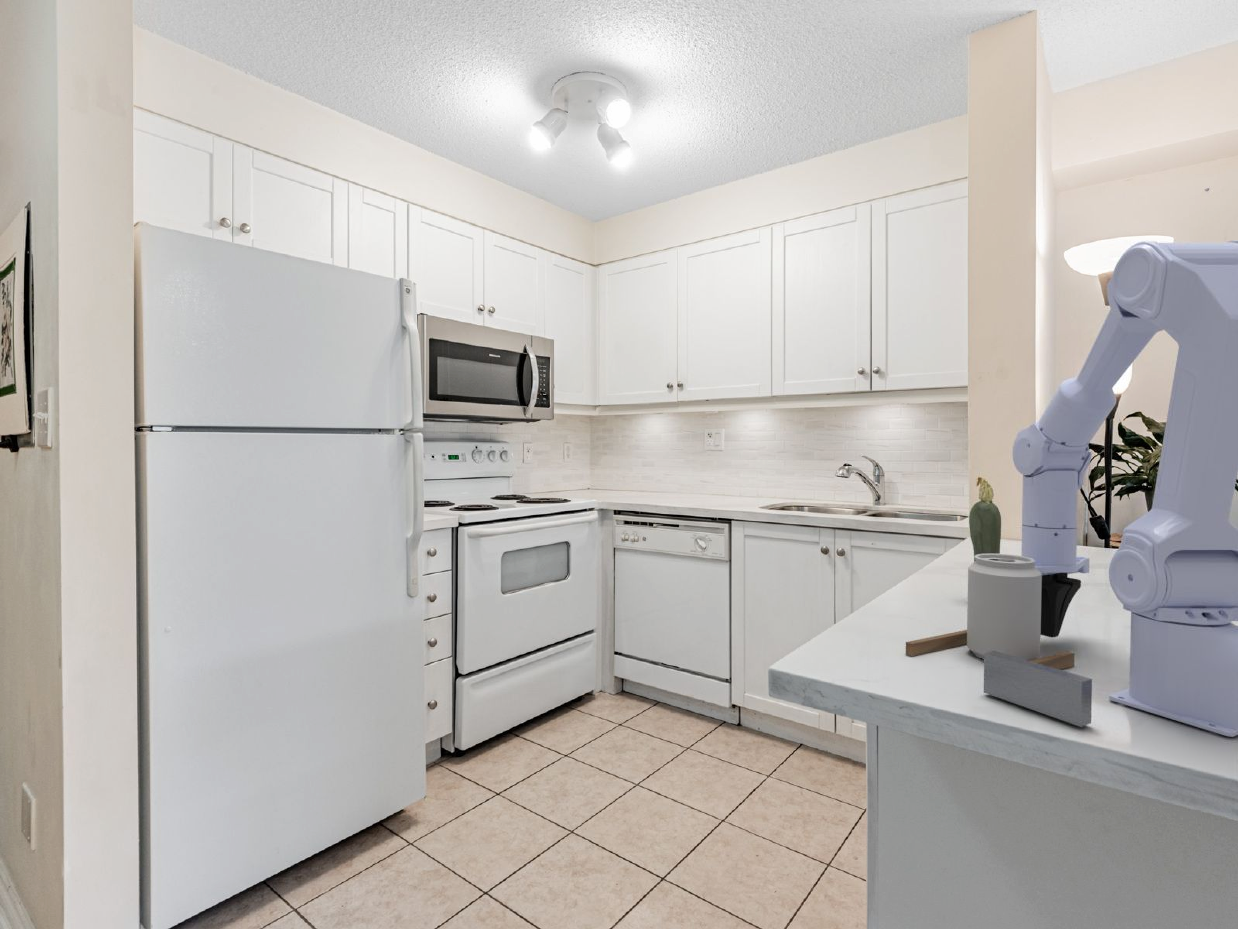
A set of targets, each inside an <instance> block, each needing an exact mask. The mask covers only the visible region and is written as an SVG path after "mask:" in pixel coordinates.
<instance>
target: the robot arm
mask: <svg viewBox="0 0 1238 929" xmlns="http://www.w3.org/2000/svg"><path fill="white" fill-rule="evenodd" d="M1106 295H1107V296H1106V298H1107V301H1108V305H1109V308H1110V310H1109V311H1108V314H1107V315H1106V318H1105V320H1104V321H1103V323H1102V326H1101V328H1100V331H1099V332H1098V334H1097V336H1096V338H1095V341H1094V343H1093V344H1092V346H1091V349H1090V351H1089V353H1088V355H1087V356H1086V359H1085V362H1084V364H1083V365H1082V367H1081V369H1080V371H1079V373H1078V376H1075V377H1072V378H1071V377H1070V378H1067V379H1065V380H1063V381H1061V383H1060V385H1059V386H1058V387H1057V389H1056V392H1055V393H1054V395H1053V396H1052V397H1051V400H1050V401H1049V402H1048V405H1047V407H1046V408H1045V410H1044V412H1043V414H1042V415H1041V417H1040V418H1039V419H1038V422H1033V423H1030V426H1029V427H1025V428H1022V429H1021V430H1020V431H1018V432H1017V434H1016V438H1015V439H1014V442H1013V446H1012V461H1013V465H1014V467H1015V469H1016V470H1017V471H1018V473H1019V474H1021V475H1022V498H1021V499H1022V502H1021V504H1022V505H1021V506H1022V508H1021V509H1022V510H1021V555H1020V556H1024V557H1029V558H1032V559H1034V560H1035V561H1036V562H1035V563H1034V566H1035V567H1036V569H1037V570H1038V571H1039V572H1040V573H1041V574H1042V588H1041V636H1043V637H1048V638H1057V637H1059V635H1060V632H1061V630H1062V626H1063V623H1064V619H1065V616H1066V613H1067V611H1068V608H1069V607H1070V604H1071V602H1072V600H1073V599H1074V597H1075V595H1076V594H1077V592H1078V591H1079V590H1080V589H1081V587H1082V581H1081V579H1078V578H1073V577H1068V575H1072V574H1077V573H1080V574H1089V573H1090V559H1091V558H1090V557H1085V556H1077V551H1078V550H1077V549H1078V548H1077V547H1078V546H1077V545H1078V542H1077V541H1078V540H1077V539H1078V501H1079V500H1078V499H1079V498H1078V496H1079V494H1078V492H1079V490H1082V488H1083V486H1084V479H1085V478H1084V477H1085V473H1086V471H1087V470H1088V468H1089V466H1090V464H1091V460H1092V455H1093V454H1092V451H1090V446H1089V444H1090V442H1092V440H1093V438H1094V436H1095V435H1096V434H1097V433H1098V431H1099V430H1100V428H1101V426H1102V425H1103V424H1104V422H1105V421H1106V419H1107V417H1108V416H1109V415H1110V413H1111V412H1112V411H1113V409H1114V407H1115V406H1116V404H1117V397H1116V394H1115V392H1114V390H1113V389H1114V387H1115V385H1116V384H1117V383H1118V381H1120V379H1121V378H1122V376H1123V375H1124V374H1125V373H1126V371H1127V370H1128V369H1129V367H1130V366H1132V364H1133V363H1134V361H1135V360H1136V359H1137V358H1138V356H1139V355H1140V354H1141V353H1142V351H1143V350H1144V349H1145V348H1146V346H1147V345H1148V344H1149V343H1150V341H1151V340H1152V338H1154V336H1155V335H1156V334H1157V333H1158V332H1159V333H1160V332H1162V331H1165V332H1166V333H1167V334H1168V335H1169V336H1170V337H1171V338H1172V339H1173V340H1174V341H1175V342H1176V343H1177V345H1178V351H1177V354H1176V362H1175V368H1174V374H1173V380H1172V386H1171V391H1170V399H1169V404H1168V410H1167V411H1168V412H1167V415H1166V416H1167V417H1166V421H1165V422H1166V423H1165V428H1164V434H1163V440H1162V446H1161V453H1160V458H1159V464H1158V470H1157V476H1156V483H1155V488H1154V493H1153V494H1154V495H1153V499H1152V505H1151V509H1150V510H1149V511H1148V512H1146V513H1144V515H1142V516H1140V517H1139V518H1137V519H1136V520H1134V521H1132V523H1130V524H1128V525H1127V526H1126V527H1125V528H1124V529H1123V531H1122V534H1121V535H1122V536H1121V540H1120V541H1121V542H1120V545H1119V547H1118V549H1117V550H1116V551H1115V553H1114V554H1113V556H1112V558H1111V560H1110V563H1109V567H1108V580H1109V584H1110V587H1111V590H1112V591H1113V593H1114V595H1115V597H1116V598H1117V600H1118V601H1119V603H1121V604H1122V605H1123V606H1122V608H1123V610H1125V611H1128V612H1130V640H1129V641H1130V642H1129V679H1128V680H1129V681H1128V684H1129V685H1128V688H1127V689H1123V690H1120V691H1117V692H1114V693H1110V694H1109V695H1108V699H1109V700H1110V701H1112V702H1115V703H1119V704H1121V705H1125V706H1129V707H1131V708H1133V709H1134V708H1135V709H1137V710H1140V711H1144V712H1147V713H1151V714H1154V715H1157V716H1161V717H1164V718H1167V719H1170V720H1174V721H1177V722H1179V723H1183V724H1186V725H1190V726H1193V727H1196V728H1199V729H1203V730H1205V731H1208V732H1209V731H1210V732H1211V733H1212V732H1213V733H1214V734H1218V735H1222V736H1226V737H1231V738H1233V737H1235V736H1238V625H1236V624H1234V623H1233V622H1238V527H1237V526H1236V525H1235V524H1234V523H1233V522H1231V521H1230V520H1229V519H1230V513H1231V508H1232V503H1233V498H1234V494H1235V487H1236V484H1237V478H1238V240H1230V241H1227V242H1226V241H1225V242H1157V241H1152V240H1151V241H1150V240H1144V241H1140V242H1136V243H1134V244H1133V245H1131V246H1130V247H1129V248H1127V250H1125V252H1123V254H1122V255H1121V256H1120V258H1119V259H1118V261H1117V262H1116V264H1115V266H1114V269H1113V273H1112V276H1111V278H1110V279H1109V281H1108V282H1107V284H1106Z"/></svg>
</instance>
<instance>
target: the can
mask: <svg viewBox="0 0 1238 929" xmlns="http://www.w3.org/2000/svg"><path fill="white" fill-rule="evenodd" d="M974 558H975V559H976V561H975V562H974V561H973V562H972V563H971V564H970V565H969V566H968V567H967V606H966V607H967V611H966V612H967V614H966V615H967V616H966V619H967V621H966V623H967V624H966V625H967V626H966V630H967V644H966V645H967V648H968V649H969V650H970V651H972V653H973V654H974V655H975V657H976V658H979V659H981V658H982V659H981V660H983V659H984V653H986V652H991V651H997V652H1001V653H1004V654H1008V655H1011V656H1015V657H1018V658H1021V659H1025V660H1028V661H1030V660H1034V659H1038V658H1040V656H1041V636H1042V635H1041V588H1042V574H1041V573H1040V572H1039V571H1038V570H1037V569H1036V567H1035V566H1034V563H1035V562H1036V561H1035V560H1034V559H1032V558H1029V557H1024V556H1021V555H1016V554H1008V553H1007V554H1006V553H1000V554H989V553H988V554H977V555H975V556H974V555H973V559H974Z"/></svg>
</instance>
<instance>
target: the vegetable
mask: <svg viewBox="0 0 1238 929" xmlns="http://www.w3.org/2000/svg"><path fill="white" fill-rule="evenodd" d="M979 485H980V486H979ZM975 486H976V487H978V490H979V491H978V500H979V501H977V502H976V503H974V504H973V506H972V507H971V509H970V510H969V514H968V515H969V516H968V519H969V520H968V524H969V526H968V527H969V533H970V534H969V535H970V540H971V543H972V549H973V563H974V562H975V561H976V559H975V558H974V556H975V555H977V554H988V553H989V554H1001V537H1002V515H1001V512H1000V510H999V507H998V506H997V505H996V504H995V503H994V502H993V499H994V490H993V488H992V486H991V484H990V483H989V482H988V480H986V479H985V478H984V477H982V476H978V477H977V481H976V485H975Z"/></svg>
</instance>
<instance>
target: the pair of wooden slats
mask: <svg viewBox="0 0 1238 929" xmlns="http://www.w3.org/2000/svg"><path fill="white" fill-rule="evenodd" d="M965 645H967V629H965V630H964V629H963V630H960V631H959V630H958V631H955V632H948V633H944V634H940V635H935V636H929V637H925V638H920V639H916V640H910V641H906V642H905V655H907V656H909V657H915V656H920V655H925V654H928V653H929V654H930V653H933V652H937V651H943V650H948V649H952V648H956V647H957V648H958V647H962V646H965ZM1075 657H1076V656H1075V652H1072V651H1068V650H1067V651H1062V652H1058V653H1054V654H1050V655H1046V656H1043V657H1038V658H1037V659H1034V660H1030V661H1032V662H1035V663H1039V664H1042V665H1046V666H1049V667H1052V668H1056V669H1059V670H1066V669H1070V668H1073V667H1075Z"/></svg>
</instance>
